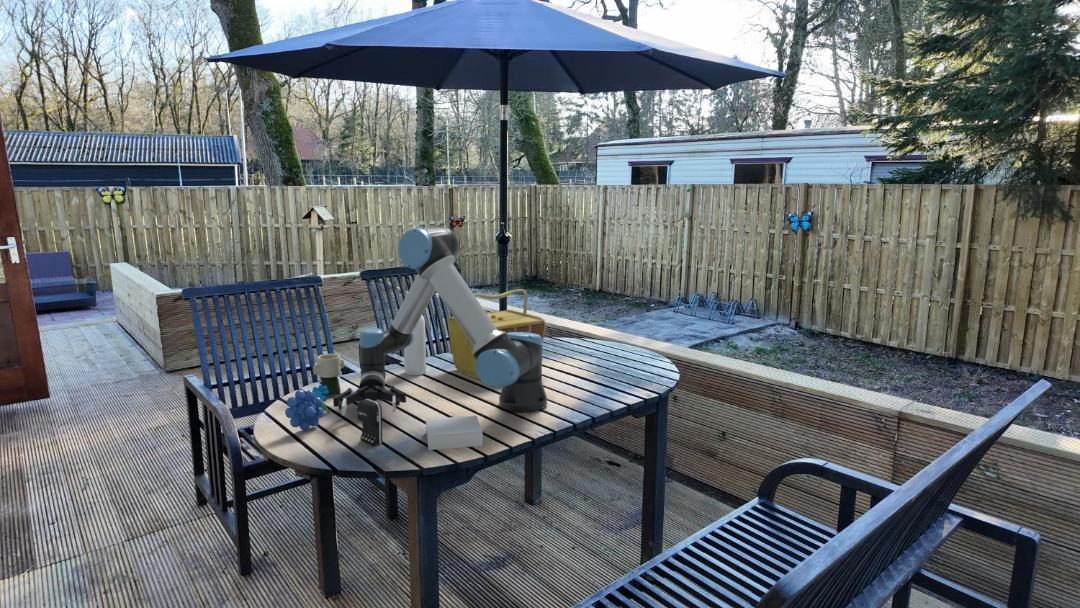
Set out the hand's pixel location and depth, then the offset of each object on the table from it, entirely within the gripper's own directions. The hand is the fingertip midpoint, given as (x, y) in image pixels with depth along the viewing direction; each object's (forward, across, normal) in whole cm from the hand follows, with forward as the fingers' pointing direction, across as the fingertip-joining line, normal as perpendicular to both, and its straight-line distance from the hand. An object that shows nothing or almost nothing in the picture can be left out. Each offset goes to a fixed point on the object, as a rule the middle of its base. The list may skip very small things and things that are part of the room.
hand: (368, 409), depth 172 cm
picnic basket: (-55, -44, -7) cm, 71 cm away
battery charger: (+8, 0, -7) cm, 11 cm away
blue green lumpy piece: (-20, +16, -7) cm, 27 cm away
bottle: (-57, -14, -7) cm, 59 cm away
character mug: (-36, +14, -7) cm, 39 cm away
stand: (+10, -22, -6) cm, 25 cm away
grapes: (-4, +17, -7) cm, 18 cm away
